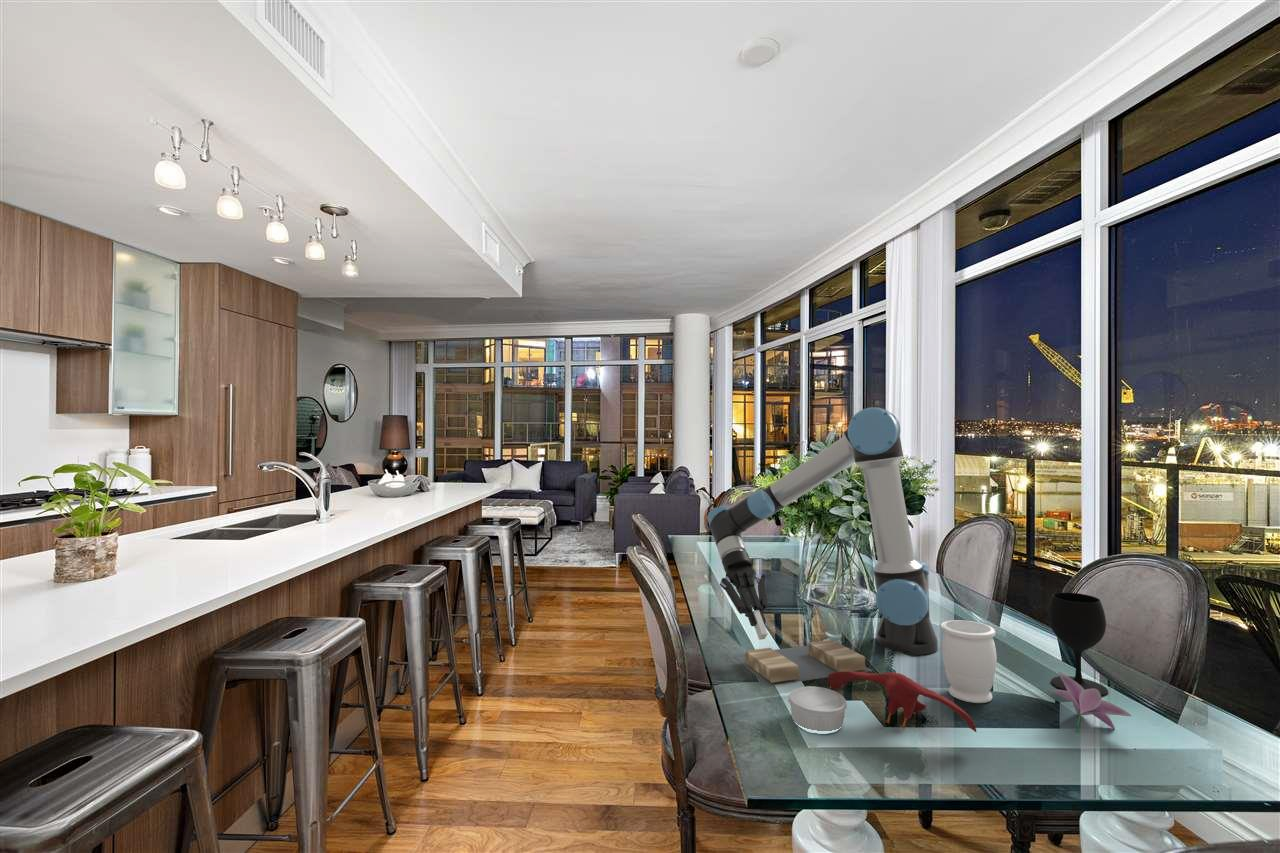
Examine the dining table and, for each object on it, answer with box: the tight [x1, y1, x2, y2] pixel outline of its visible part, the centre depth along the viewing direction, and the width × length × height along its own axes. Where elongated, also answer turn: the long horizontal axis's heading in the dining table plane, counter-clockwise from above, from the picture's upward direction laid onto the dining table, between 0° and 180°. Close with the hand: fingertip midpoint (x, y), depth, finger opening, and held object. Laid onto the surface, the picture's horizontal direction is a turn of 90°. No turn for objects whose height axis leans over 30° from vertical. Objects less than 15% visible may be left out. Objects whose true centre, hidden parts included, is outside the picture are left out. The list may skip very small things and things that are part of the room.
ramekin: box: [788, 685, 847, 731], centre depth 119 cm, size 11×11×5 cm
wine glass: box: [1047, 592, 1109, 698], centre depth 133 cm, size 10×10×20 cm
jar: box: [941, 619, 997, 704], centre depth 130 cm, size 11×10×15 cm
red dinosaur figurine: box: [827, 671, 978, 733], centre depth 118 cm, size 28×9×15 cm
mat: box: [731, 645, 874, 687], centre depth 149 cm, size 28×20×1 cm
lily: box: [1051, 671, 1132, 734], centre depth 115 cm, size 12×12×10 cm
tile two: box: [744, 647, 799, 683], centre depth 144 cm, size 3×7×14 cm
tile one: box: [807, 639, 867, 672], centre depth 148 cm, size 3×7×14 cm
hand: (763, 636), depth 147 cm, fingers closed
